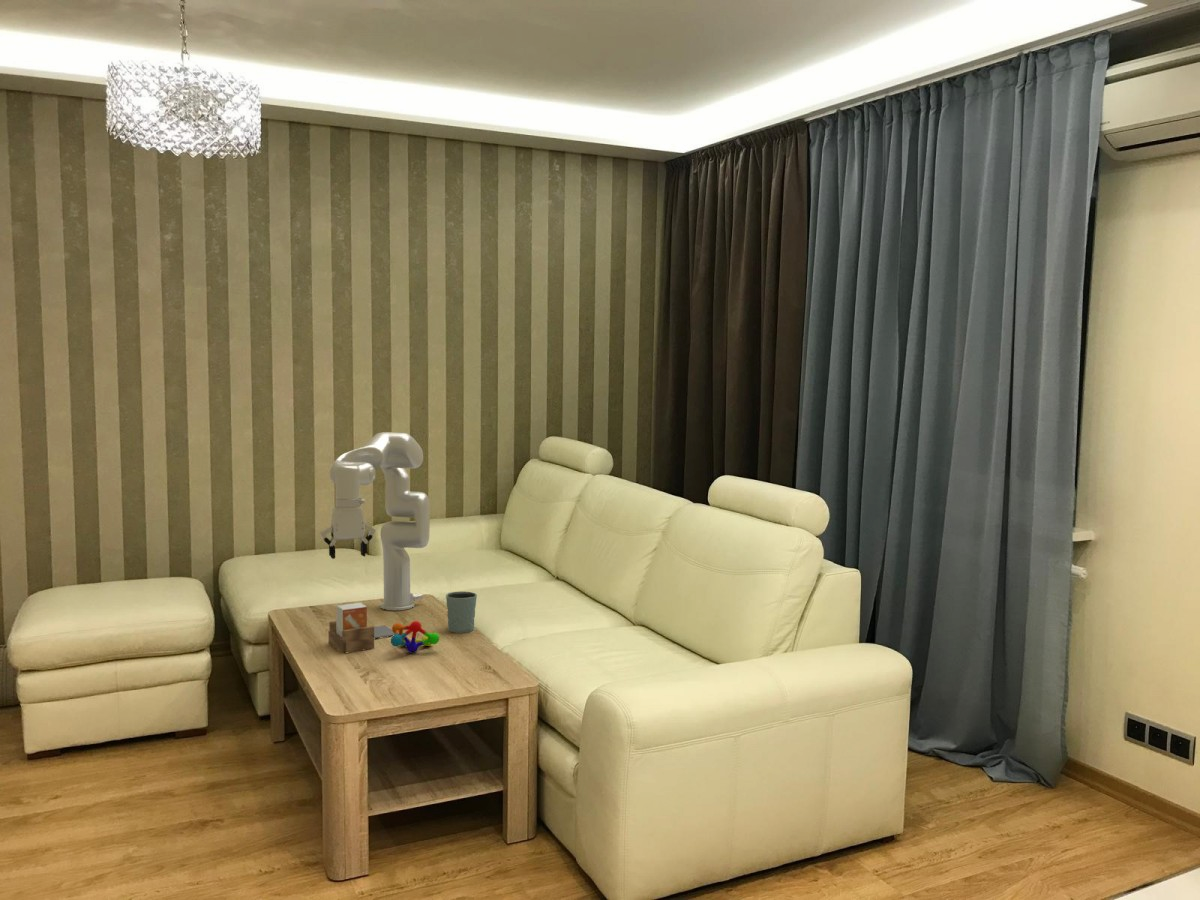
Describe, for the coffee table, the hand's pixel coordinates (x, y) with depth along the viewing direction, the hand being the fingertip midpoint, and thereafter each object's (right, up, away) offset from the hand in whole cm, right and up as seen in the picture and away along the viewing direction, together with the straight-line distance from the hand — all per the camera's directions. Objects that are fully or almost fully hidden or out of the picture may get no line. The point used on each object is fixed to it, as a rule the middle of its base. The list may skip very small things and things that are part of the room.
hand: (348, 556), depth 327 cm
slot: (+1, -28, 0) cm, 28 cm away
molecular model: (+22, -29, -5) cm, 37 cm away
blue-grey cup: (+34, -27, +20) cm, 47 cm away
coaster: (+5, -27, +13) cm, 30 cm away
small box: (+1, -29, 0) cm, 29 cm away
